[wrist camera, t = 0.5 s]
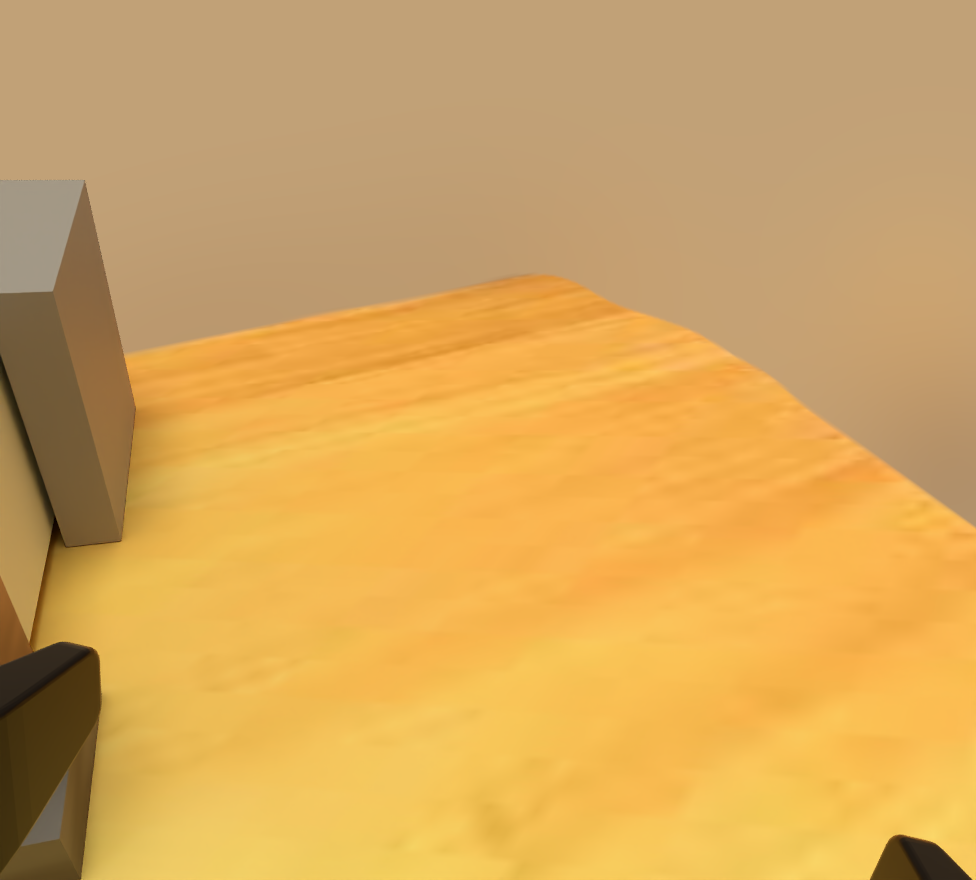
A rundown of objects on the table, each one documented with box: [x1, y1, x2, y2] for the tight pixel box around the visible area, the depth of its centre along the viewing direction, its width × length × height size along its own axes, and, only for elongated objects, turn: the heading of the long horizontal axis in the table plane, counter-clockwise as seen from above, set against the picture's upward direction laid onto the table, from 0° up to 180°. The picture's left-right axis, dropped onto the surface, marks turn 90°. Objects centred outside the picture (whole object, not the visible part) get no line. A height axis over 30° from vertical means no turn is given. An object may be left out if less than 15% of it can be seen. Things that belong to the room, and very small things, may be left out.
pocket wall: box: [0, 180, 136, 547], centre depth 31 cm, size 9×6×11 cm
